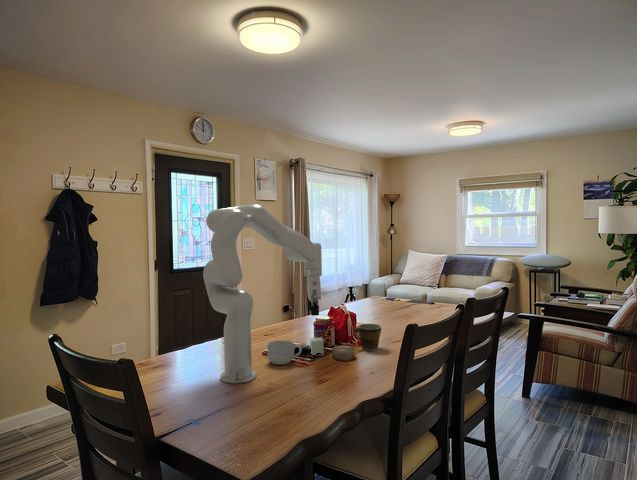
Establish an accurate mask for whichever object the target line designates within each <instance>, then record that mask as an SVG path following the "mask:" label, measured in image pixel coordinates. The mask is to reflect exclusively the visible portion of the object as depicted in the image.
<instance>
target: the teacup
mask: <svg viewBox="0 0 637 480" xmlns="http://www.w3.org/2000/svg"><path fill="white" fill-rule="evenodd" d="M266 345H267V348H266V349H267V359H268V360H269V362H271V363H272V364H274V365H278V366H279V365H281V366H282V365H287V364H289V363H291V361H292V360H294V359H296V357H299V356H300V355H301V353H302V351H303V348H302V346H301V345H300V344H297V343H296V344H295V342H294V341H293V340H287V339H283V340H273V341H269V342H267V343H266ZM297 348H298V352H297V353H296V354H295V349H297Z"/></svg>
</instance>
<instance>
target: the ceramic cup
mask: <svg viewBox="0 0 637 480" xmlns="http://www.w3.org/2000/svg"><path fill="white" fill-rule="evenodd" d="M357 327H358V328H357ZM357 327H352V329H351V330H350V331H351V334H352V335H353V336H355V337H356V338H357V339H358V340H359V342H360V344H361V349H362V351H365V352H371V353H372V352H376V351H378V349H379V343H380V337H381V334H382V333H381V332H382V325H380V324H378V323H377V324H376V323H363V324H358V326H357ZM353 330H356V331H357V332H358V335H359V336H357V335H356V334H355V333H354V332H353Z"/></svg>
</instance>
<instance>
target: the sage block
mask: <svg viewBox="0 0 637 480" xmlns="http://www.w3.org/2000/svg"><path fill="white" fill-rule="evenodd" d="M309 343H310V345H309V346H310V348H311V352H310V354H312V355H316V354H317V353H321V354H322V355H321V356H325V355H324V352H325V351H324V349H325V348H324V343H325V342H324V338H323V337H310V338H309ZM312 355H311V356H312ZM316 356H317V355H316Z"/></svg>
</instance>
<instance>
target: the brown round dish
mask: <svg viewBox="0 0 637 480" xmlns="http://www.w3.org/2000/svg"><path fill="white" fill-rule="evenodd" d="M331 348H332V350H331V351H332V352H331V354H332V359H333V360H334V361H340V362H347V361H353V360H354V359H355V356H356V354H355V350H356V349H355V347H353V346H351V345H350V346H349V345H336V346H334V347H331Z"/></svg>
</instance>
